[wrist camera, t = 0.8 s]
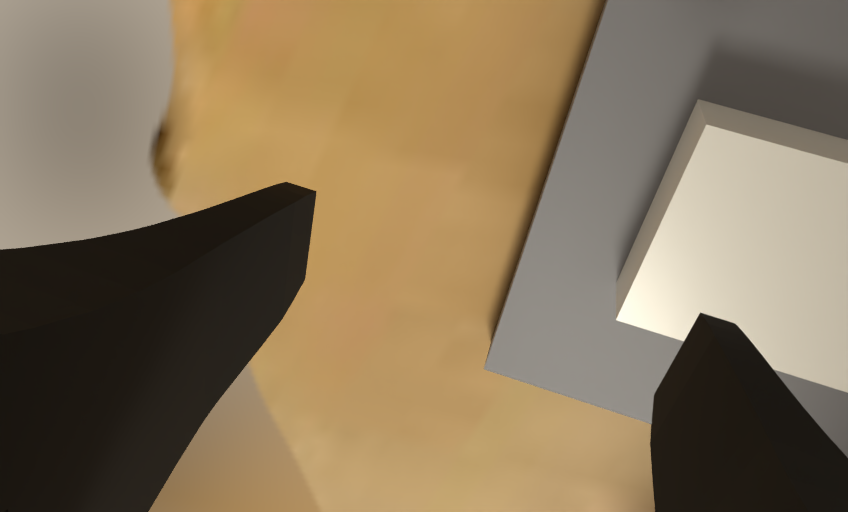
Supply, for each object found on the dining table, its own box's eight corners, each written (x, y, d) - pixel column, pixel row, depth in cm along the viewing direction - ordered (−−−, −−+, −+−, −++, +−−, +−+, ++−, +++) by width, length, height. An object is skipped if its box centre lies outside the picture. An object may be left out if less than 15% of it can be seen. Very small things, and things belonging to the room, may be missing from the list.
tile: (881, 364, 19) (905, 411, 18) (616, 282, 20) (615, 320, 19) (1020, 187, 16) (1066, 223, 15) (698, 99, 17) (706, 124, 15)
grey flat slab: (961, 496, 23) (980, 532, 22) (490, 343, 25) (483, 369, 23) (1438, 34, 14) (1516, 51, 13) (655, -149, 16) (658, -150, 15)
